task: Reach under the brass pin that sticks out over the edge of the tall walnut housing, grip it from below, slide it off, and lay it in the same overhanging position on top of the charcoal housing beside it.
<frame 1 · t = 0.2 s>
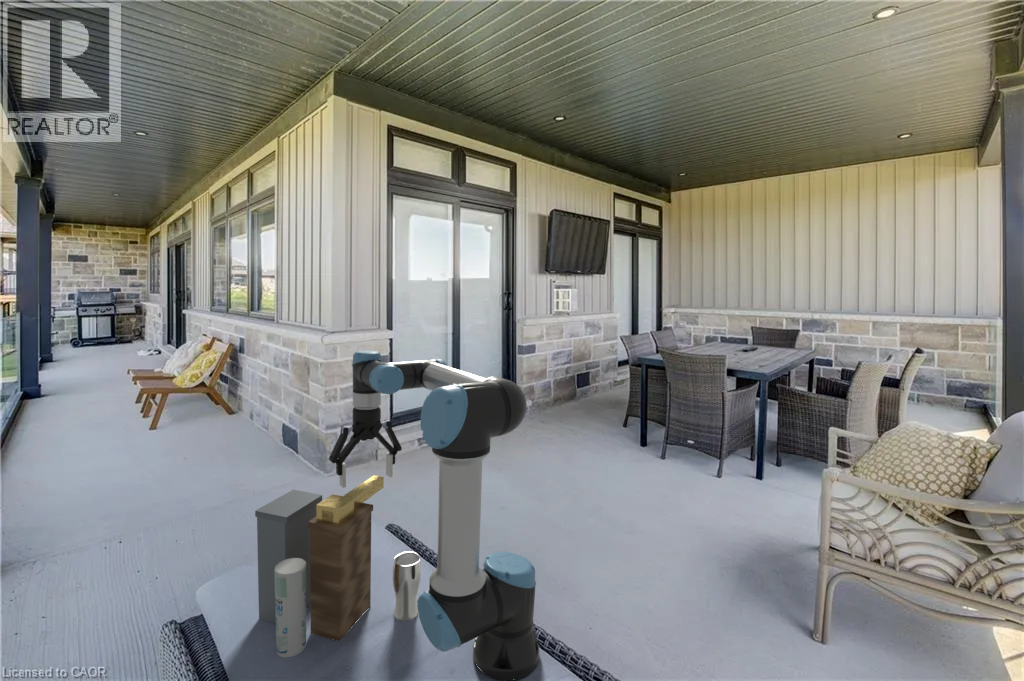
hand: (366, 480, 140), 28 cm above the table, tool pointing down, fingers open, 13 cm apart
beer glass: (406, 614, 127), on the table
pin: (355, 503, 126), point 28 cm above the table, touching housing a
housing a: (341, 619, 124), on the table
spray can: (291, 648, 114), on the table
housing b: (291, 606, 128), on the table
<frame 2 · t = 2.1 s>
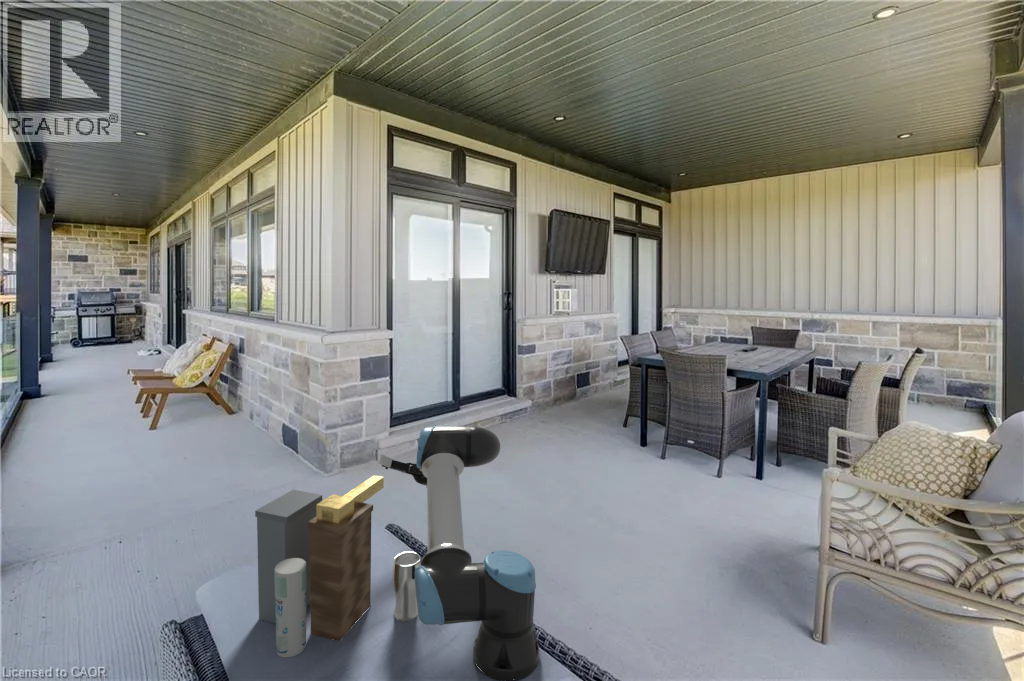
hand: (401, 462, 149), 30 cm above the table, tool pointing upward, fingers open, 13 cm apart
nothing on the table moved.
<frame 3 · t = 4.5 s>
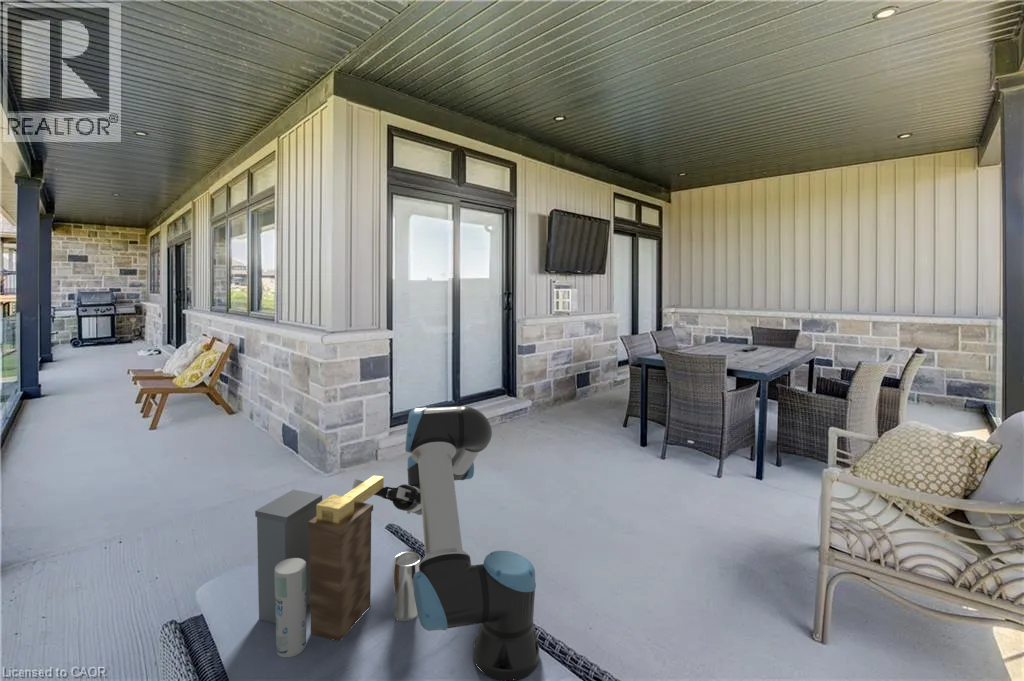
hand: (376, 488, 136), 28 cm above the table, tool pointing upward, fingers open, 13 cm apart
nothing on the table moved.
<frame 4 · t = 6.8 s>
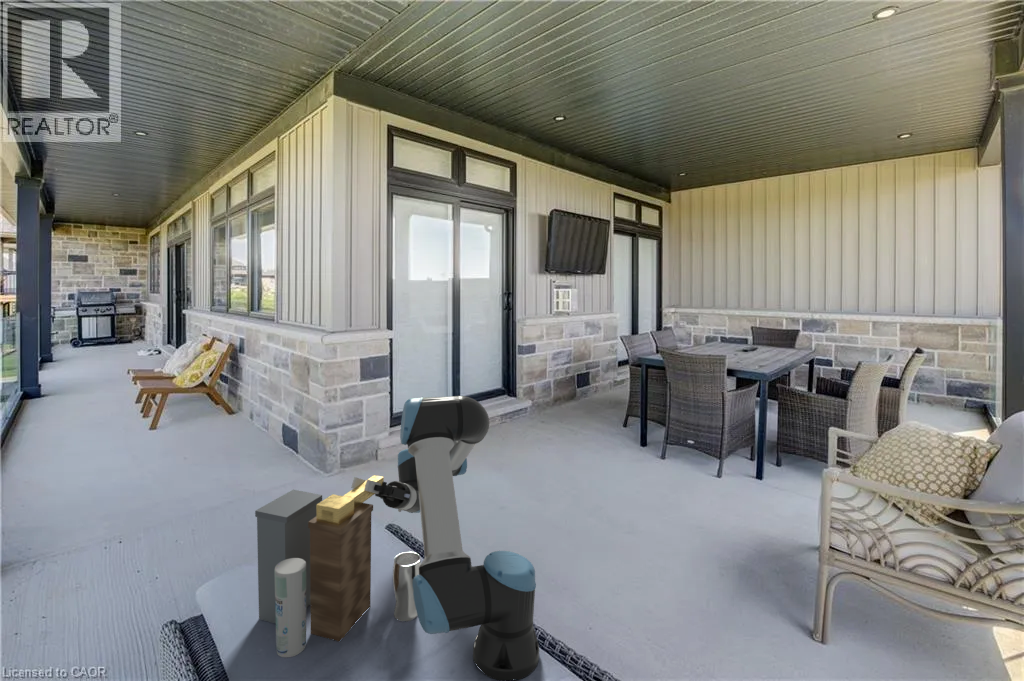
hand: (360, 483, 127), 32 cm above the table, tool pointing upward, fingers closed on pin, 3 cm apart
pin: (355, 503, 126), point 28 cm above the table, touching gripper, housing a
everything else where it was.
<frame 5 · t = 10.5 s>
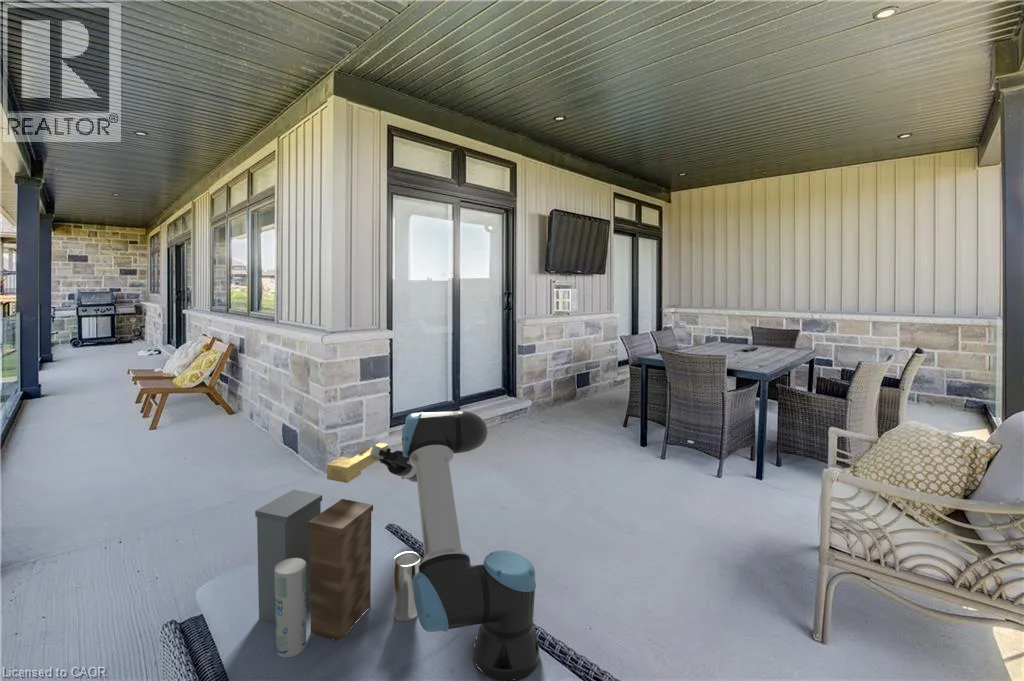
hand: (366, 448, 139), 37 cm above the table, tool pointing upward, fingers closed on pin, 3 cm apart
pin: (362, 466, 137), point 33 cm above the table, touching gripper
everything else where it was.
when the fingers open (33 cm above the table, at t = 14.4 s): pin stays where it is, resting on housing b.
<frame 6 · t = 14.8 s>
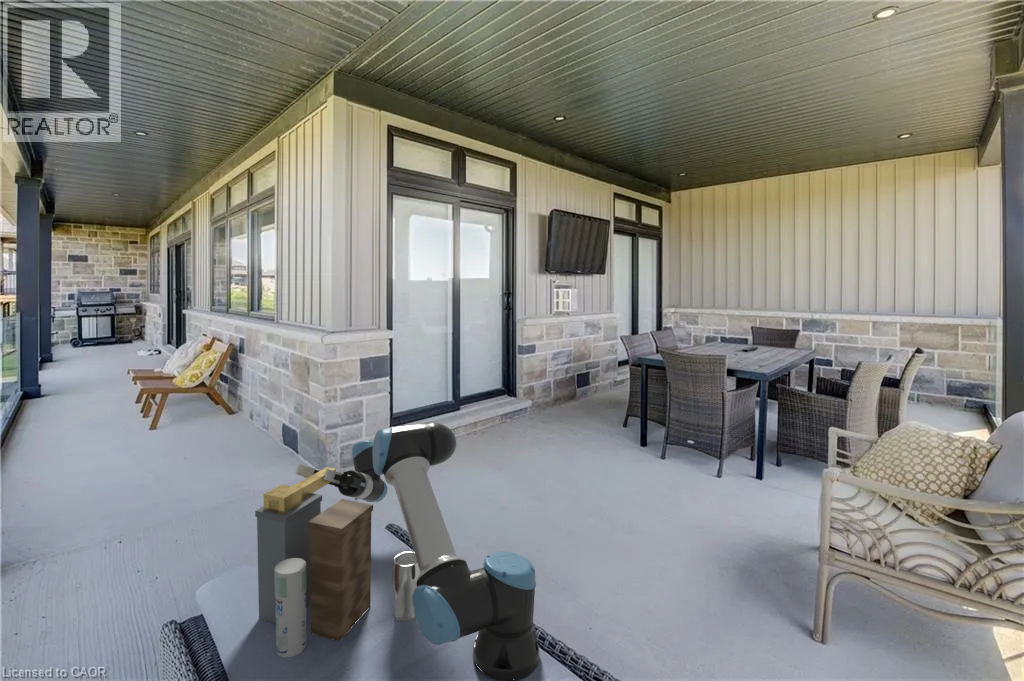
hand: (312, 471, 132), 33 cm above the table, tool pointing upward, fingers open, 8 cm apart
pin: (305, 493, 130), point 28 cm above the table, touching housing b
everything else where it was.
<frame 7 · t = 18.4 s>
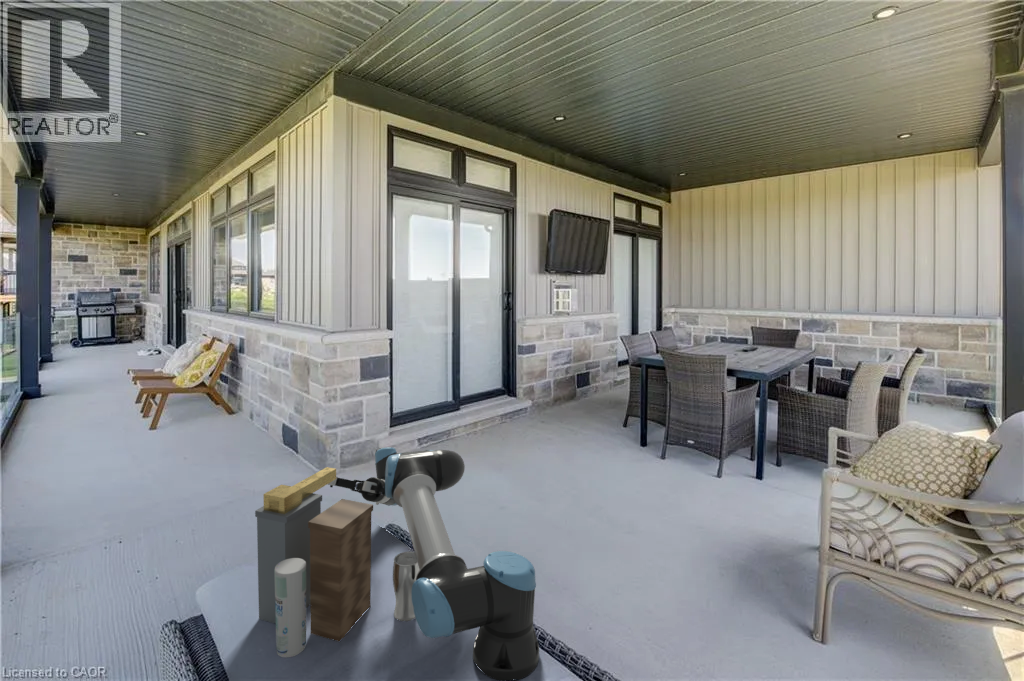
hand: (343, 481, 145), 25 cm above the table, tool pointing upward, fingers open, 13 cm apart
nothing on the table moved.
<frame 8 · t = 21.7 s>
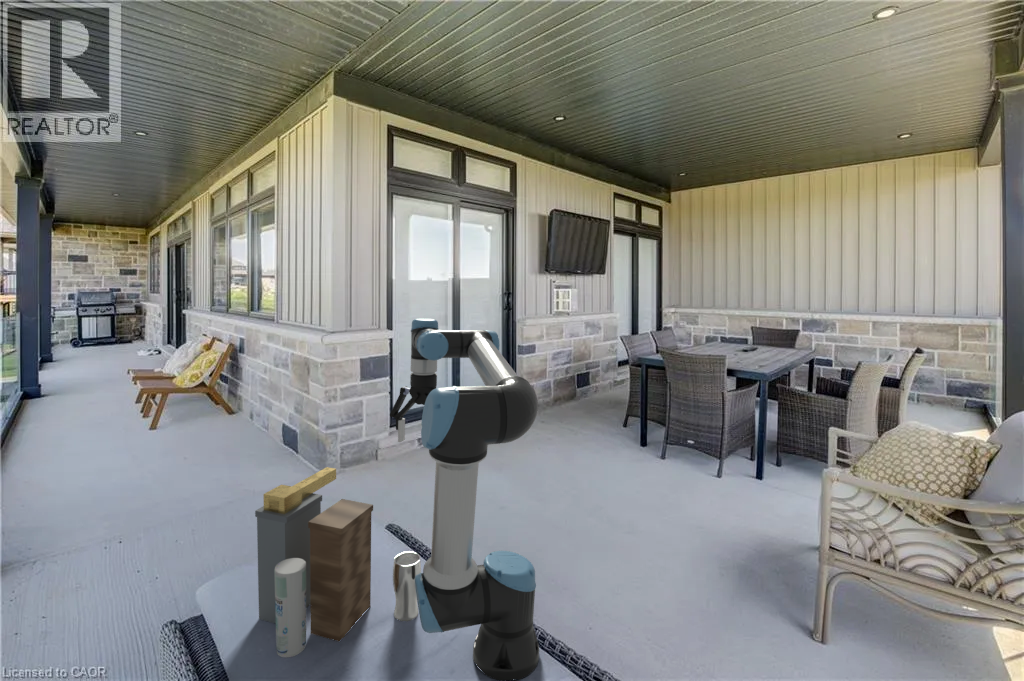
hand: (422, 444, 146), 37 cm above the table, tool pointing down, fingers open, 13 cm apart
nothing on the table moved.
at the end: pin 0.1 cm from the target spot, point 28.0 cm above the table; pin touching housing b; the gripper is holding nothing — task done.
